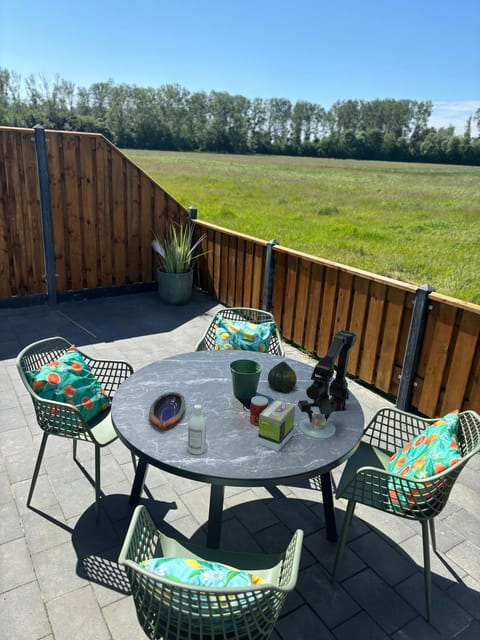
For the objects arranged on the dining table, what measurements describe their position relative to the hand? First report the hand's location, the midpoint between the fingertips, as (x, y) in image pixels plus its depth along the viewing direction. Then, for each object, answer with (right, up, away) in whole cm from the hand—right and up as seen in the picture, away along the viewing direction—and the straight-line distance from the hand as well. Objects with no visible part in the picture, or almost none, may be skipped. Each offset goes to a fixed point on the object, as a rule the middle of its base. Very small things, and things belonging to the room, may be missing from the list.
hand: (317, 421), depth 203 cm
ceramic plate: (0, -3, +1) cm, 4 cm away
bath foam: (-52, -7, -18) cm, 56 cm away
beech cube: (0, -2, +1) cm, 2 cm away
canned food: (-27, -1, +4) cm, 27 cm away
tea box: (-20, -6, -9) cm, 22 cm away
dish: (-68, +1, +6) cm, 68 cm away
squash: (-13, +9, +37) cm, 40 cm away
